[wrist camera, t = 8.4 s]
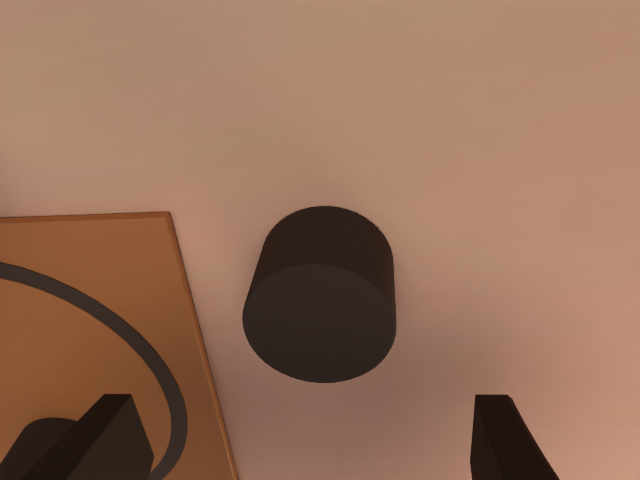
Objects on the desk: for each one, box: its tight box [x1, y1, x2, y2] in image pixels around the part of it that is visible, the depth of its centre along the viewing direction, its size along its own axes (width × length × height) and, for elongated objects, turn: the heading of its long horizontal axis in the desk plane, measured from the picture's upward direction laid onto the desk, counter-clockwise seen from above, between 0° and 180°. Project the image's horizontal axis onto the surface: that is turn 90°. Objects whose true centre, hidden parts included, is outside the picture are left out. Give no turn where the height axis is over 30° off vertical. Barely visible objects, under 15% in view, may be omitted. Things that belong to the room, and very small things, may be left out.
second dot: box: [243, 206, 396, 383], centre depth 16 cm, size 4×4×3 cm
